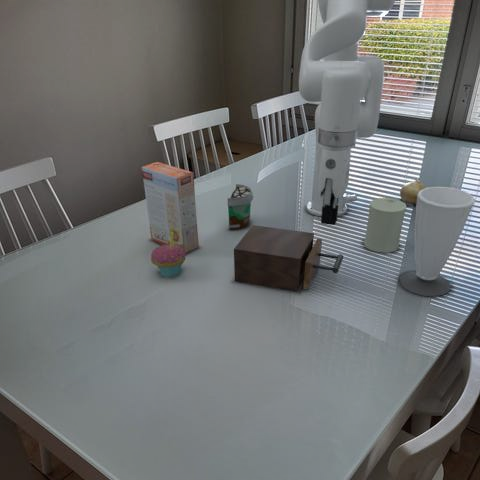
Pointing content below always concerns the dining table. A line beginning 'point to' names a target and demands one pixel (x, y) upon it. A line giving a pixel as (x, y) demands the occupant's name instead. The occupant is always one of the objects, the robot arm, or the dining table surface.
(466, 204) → the cup
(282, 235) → the cabinet
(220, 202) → the dining table surface
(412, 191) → the onion
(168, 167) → the cracker box
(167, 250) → the cupcake
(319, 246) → the drawer
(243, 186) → the food container
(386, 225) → the can
